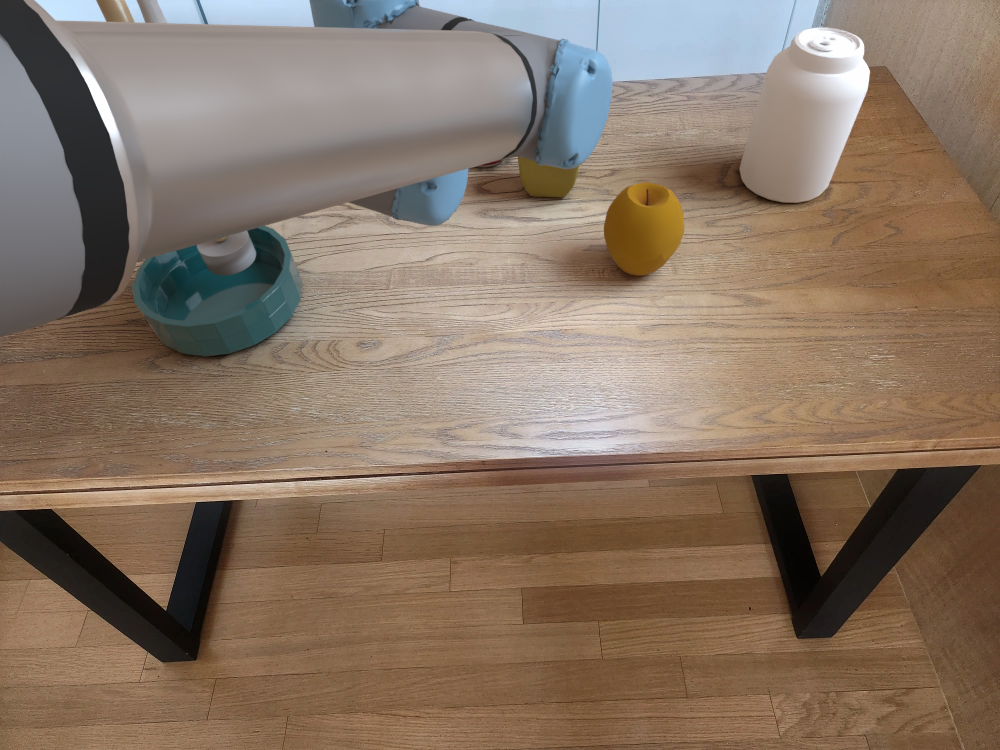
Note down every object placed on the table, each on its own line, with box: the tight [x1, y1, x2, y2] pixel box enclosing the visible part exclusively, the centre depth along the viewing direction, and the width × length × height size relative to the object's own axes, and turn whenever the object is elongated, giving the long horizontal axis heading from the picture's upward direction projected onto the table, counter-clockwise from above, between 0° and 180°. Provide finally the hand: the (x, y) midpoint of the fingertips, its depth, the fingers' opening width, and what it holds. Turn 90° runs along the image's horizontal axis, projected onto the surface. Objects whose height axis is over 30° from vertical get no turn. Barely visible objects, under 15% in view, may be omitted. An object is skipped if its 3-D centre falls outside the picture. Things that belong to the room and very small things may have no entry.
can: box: [738, 27, 871, 204], centre depth 89 cm, size 12×12×20 cm
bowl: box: [131, 225, 303, 357], centre depth 82 cm, size 19×19×6 cm
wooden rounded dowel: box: [95, 0, 256, 275], centre depth 65 cm, size 6×6×40 cm
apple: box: [603, 181, 685, 277], centre depth 82 cm, size 10×10×12 cm
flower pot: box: [517, 157, 580, 198], centre depth 94 cm, size 9×9×9 cm
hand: (119, 93), depth 67 cm, fingers closed on wooden rounded dowel, 2 cm apart
